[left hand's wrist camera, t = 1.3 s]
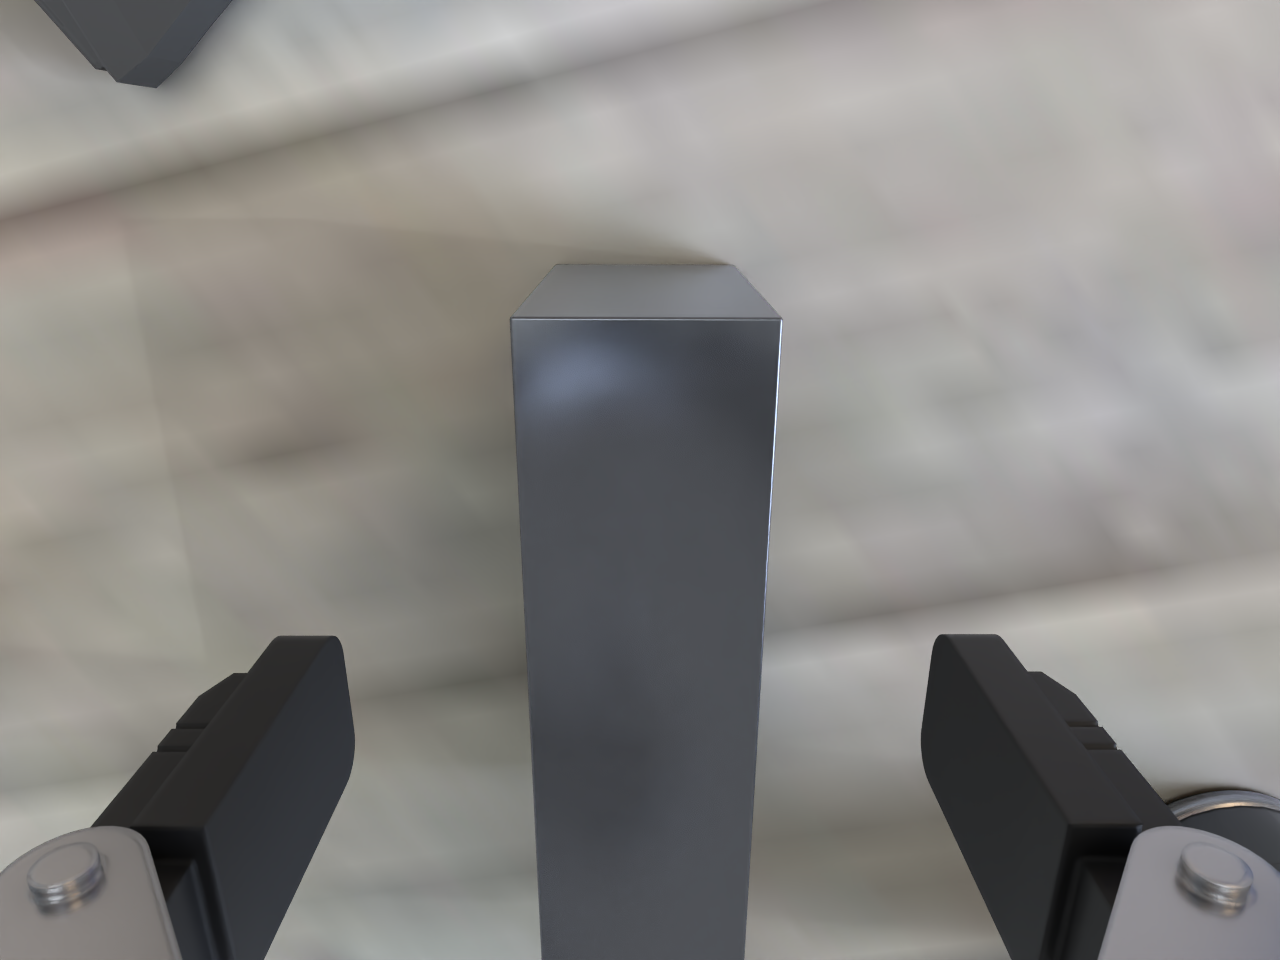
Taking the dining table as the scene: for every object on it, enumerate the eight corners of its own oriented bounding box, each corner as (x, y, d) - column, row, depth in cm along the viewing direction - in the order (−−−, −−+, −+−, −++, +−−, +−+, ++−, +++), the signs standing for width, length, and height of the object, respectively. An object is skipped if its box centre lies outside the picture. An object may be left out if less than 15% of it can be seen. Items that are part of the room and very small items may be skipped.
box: (555, 263, 29) (509, 317, 19) (734, 264, 29) (783, 317, 19) (570, 766, 36) (543, 996, 26) (714, 766, 36) (742, 997, 26)
